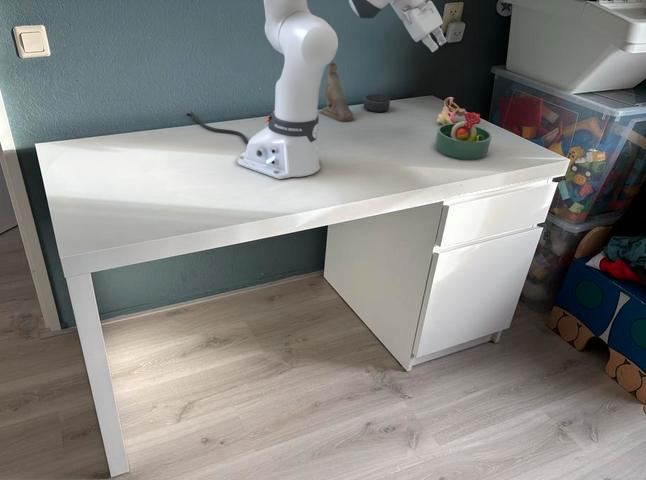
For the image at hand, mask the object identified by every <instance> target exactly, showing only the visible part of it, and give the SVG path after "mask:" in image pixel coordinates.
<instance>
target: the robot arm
mask: <svg viewBox="0 0 646 480" xmlns="http://www.w3.org/2000/svg"><path fill="white" fill-rule="evenodd" d="M348 3H349V6H350V7H351V9H352V10H353V12H354V13H355V15H356V16H357V17H359V18H360V19H374V18H375V17H376V16H377V15H378V14H379V13H380V12H381V11H383V9H384V8H385V7H386V6H387V5H388V4H390V6H391V7H392V9H393V10H394V12H395V13H396V15H397V17H398V18H399V19H400V20H401V21H402V24H403V25H404V27H405V29H406V30H407V32H408V34H409V36H410V37H411V39H412V40H413V41H414V42H416V43H419V42H420V41H422V43H423V44H424V45H425V46H426V47H427V48H428V49H429V50H430V51H431V52H432V53H434V52H435V51H437V50H438V49H439V46H443V45H444V44H446V43H447V39H446V38H445V36H444V32H443V30H442V28H441V26H442V25H443V24H444V22H443V19H442V18H443V17H442V16H441V15H440V13H439V11H438V9H437V7H436V6H435V4H434V3H433V1H432V0H348ZM308 6H309V5H308V0H263V7H264V14H265V22H264V34H265V37H266V39H267V40H268V42H269V44H270V45H271V46H272V47H273V49H274V50H275V51H277V52H278V53H280V54H282V55H283V58H284V62H283V63H284V64H283V68H282V72H281V75H280V78H278V80H277V81H276V83H275V85H274V86H275V87H274V91H275V92H274V110H273V111H272V113H270V114H268V116H267V117H266V118H265V123H268V125H267V126H266V127H264V128H263V129H261V130H260V131H258V132H257V133H255V134H254V135H253V136H251V138H250V139H249V140H247V138H246V136H245V134H243V133H242V132H240V131H239V130H238V131H237V130H233V129H224V128H217V127H212V126H209V125H207V124H205V123H204V122H202V121H201V120H199V119H198V118H197V117H196V115H195V114H194V113H193V112H192V111H191V113H190V114H189V113H188V112H187V113H186V116H190V115H191V117H192V119H193V120H194V121H195V122H196V123H197V124H199V125H200V126H202V127H203V128H204V129H207V130H209V131H212V132H218V133H225V134H226V133H228V134H234V135H237V136H240V137H241V138H242V140H243V142H244V143H245V144H246V150H245V151H243V152H242V153H241V154H240V155H239V156H238V158H237V165H238V166H241V167H243V168H246V169H250V170H253V171H255V172H258V173H260V174H264V175H266V176H269V177H271V178H275V179H279V180H284V179H288V178H302V177H308V176H310V175H311V176H312V175H314V174H316V173H317V172H318V171H319V170H320V168H321V165H320V162H319V156H318V155H319V154H318V146H317V145H318V144H317V143H318V142H317V139H318V135H319V126H320V125H319V121H320V120H319V118H320V117H319V115H318V111H319V110H318V109H319V99H320V89H321V85H322V80H323V77H324V73H325V72H326V71H325V70H326V68H327V67H328V65H330V64H331V63H332V61H333V60H334V58H335V57H336V54H337V52H338V49H339V48H338V47H339V39H338V35H337V33H336V31H335V29H334V28H333V27H332V26H331V25H330V24H329V23H328V22H327V21H326V20H325V19H323V18H322V17H319V16H317V15H315V14H312V13H311V11H310V9H309V7H308ZM430 34H433V36H434V37H435V38H436V40H437V41H436V42H435V41H434V39H432V36H431V35H430ZM437 43H438V44H437Z"/></svg>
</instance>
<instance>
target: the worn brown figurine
mask: <svg viewBox="0 0 646 480" xmlns="http://www.w3.org/2000/svg"><path fill="white" fill-rule="evenodd" d="M337 68H338V66H337V64H336V63H334V62H330V63H329V72H328V73H327V83H326V86H325V89H324V94H325V97H326V106H324V107H322V108H321V111H320V112H321V113H322V114H325V115H326V116H329V117H331V118H332V119H334V120H337V121H340V122H350V121H353V118H354V117H353V112H352V111H351V109H350V107H349V105H348V103H347V100H346V97H345V94H344V91H343V88H342V85H341V81H340V78H339V75H338V73H337V72H336V71H337Z"/></svg>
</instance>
